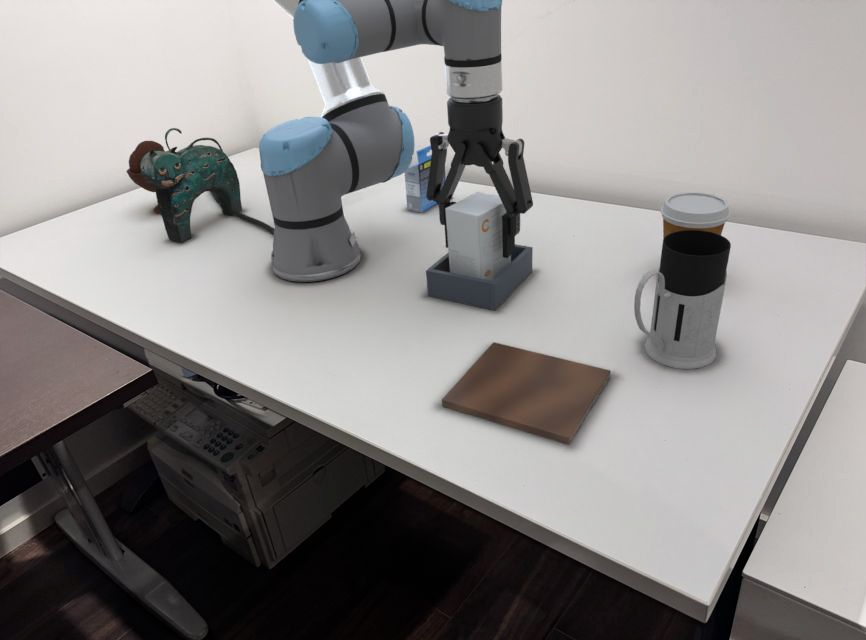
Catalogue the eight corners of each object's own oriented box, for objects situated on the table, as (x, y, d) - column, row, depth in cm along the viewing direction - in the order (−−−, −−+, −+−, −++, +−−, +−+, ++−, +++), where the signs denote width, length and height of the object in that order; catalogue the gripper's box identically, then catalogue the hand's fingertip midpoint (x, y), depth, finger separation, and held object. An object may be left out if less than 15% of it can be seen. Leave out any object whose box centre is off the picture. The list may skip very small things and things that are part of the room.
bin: (427, 295, 104) (425, 270, 101) (468, 260, 113) (467, 236, 111) (495, 310, 98) (494, 284, 96) (532, 272, 108) (532, 247, 106)
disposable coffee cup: (722, 292, 98) (737, 215, 91) (654, 290, 100) (664, 214, 93) (713, 264, 106) (726, 191, 99) (650, 262, 108) (659, 190, 101)
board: (441, 406, 80) (441, 399, 79) (493, 348, 90) (493, 341, 89) (569, 444, 73) (569, 437, 72) (610, 376, 83) (610, 370, 82)
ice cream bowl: (203, 203, 147) (184, 134, 139) (161, 221, 139) (139, 149, 131) (171, 197, 152) (152, 130, 144) (130, 214, 144) (106, 144, 136)
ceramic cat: (178, 247, 127) (146, 141, 116) (155, 242, 130) (122, 138, 119) (251, 210, 141) (228, 112, 130) (228, 207, 144) (204, 111, 133)
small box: (480, 267, 110) (477, 190, 103) (512, 276, 106) (511, 197, 99) (449, 286, 105) (444, 207, 98) (481, 297, 101) (478, 215, 94)
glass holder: (730, 351, 85) (752, 242, 77) (657, 395, 79) (672, 281, 71) (673, 325, 92) (688, 221, 83) (601, 363, 85) (609, 256, 77)
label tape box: (432, 196, 141) (427, 136, 134) (448, 198, 139) (444, 139, 132) (406, 210, 135) (400, 149, 128) (422, 213, 133) (417, 151, 126)
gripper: (392, 98, 93) (407, 247, 105) (538, 107, 83) (536, 271, 95) (420, 86, 98) (431, 230, 110) (560, 93, 88) (556, 250, 100)
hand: (479, 249), depth 103 cm, fingers open, 9 cm apart
